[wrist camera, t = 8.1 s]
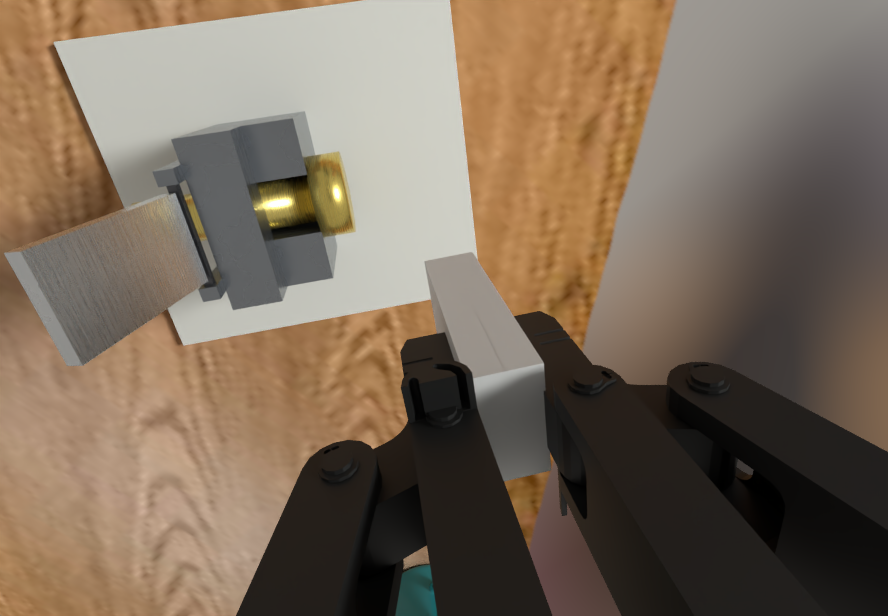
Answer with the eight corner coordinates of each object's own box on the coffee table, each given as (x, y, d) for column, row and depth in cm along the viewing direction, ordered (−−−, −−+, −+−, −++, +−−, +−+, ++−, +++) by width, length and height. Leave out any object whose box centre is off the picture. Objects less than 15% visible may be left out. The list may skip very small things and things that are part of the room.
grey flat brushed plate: (175, 192, 25) (20, 251, 18) (208, 281, 27) (82, 365, 20) (162, 194, 25) (3, 252, 18) (196, 281, 28) (67, 365, 20)
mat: (58, 42, 31) (53, 42, 30) (446, -10, 33) (448, -11, 32) (185, 342, 40) (183, 345, 40) (479, 287, 42) (480, 289, 42)
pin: (340, 146, 33) (336, 157, 28) (356, 220, 35) (355, 242, 31) (142, 177, 32) (105, 194, 27) (172, 252, 34) (142, 279, 30)
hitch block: (304, 111, 34) (284, 123, 25) (337, 246, 38) (330, 300, 29) (202, 126, 33) (141, 145, 24) (247, 262, 38) (210, 322, 29)
